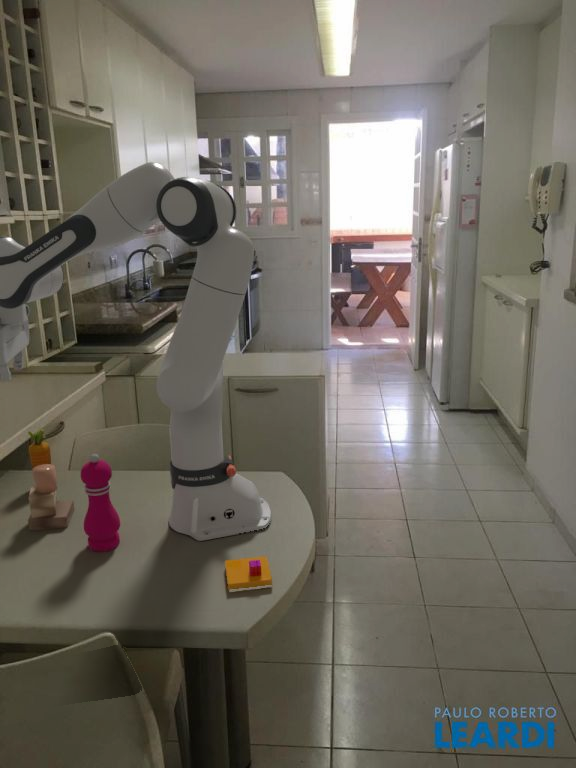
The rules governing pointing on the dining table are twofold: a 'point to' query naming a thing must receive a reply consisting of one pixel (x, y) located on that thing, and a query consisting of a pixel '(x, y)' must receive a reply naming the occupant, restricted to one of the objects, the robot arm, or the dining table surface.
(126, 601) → the dining table surface
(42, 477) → the tan capsule
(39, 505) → the cube
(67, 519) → the slab
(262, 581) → the orange square tile
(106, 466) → the pepper mill
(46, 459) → the carrot
